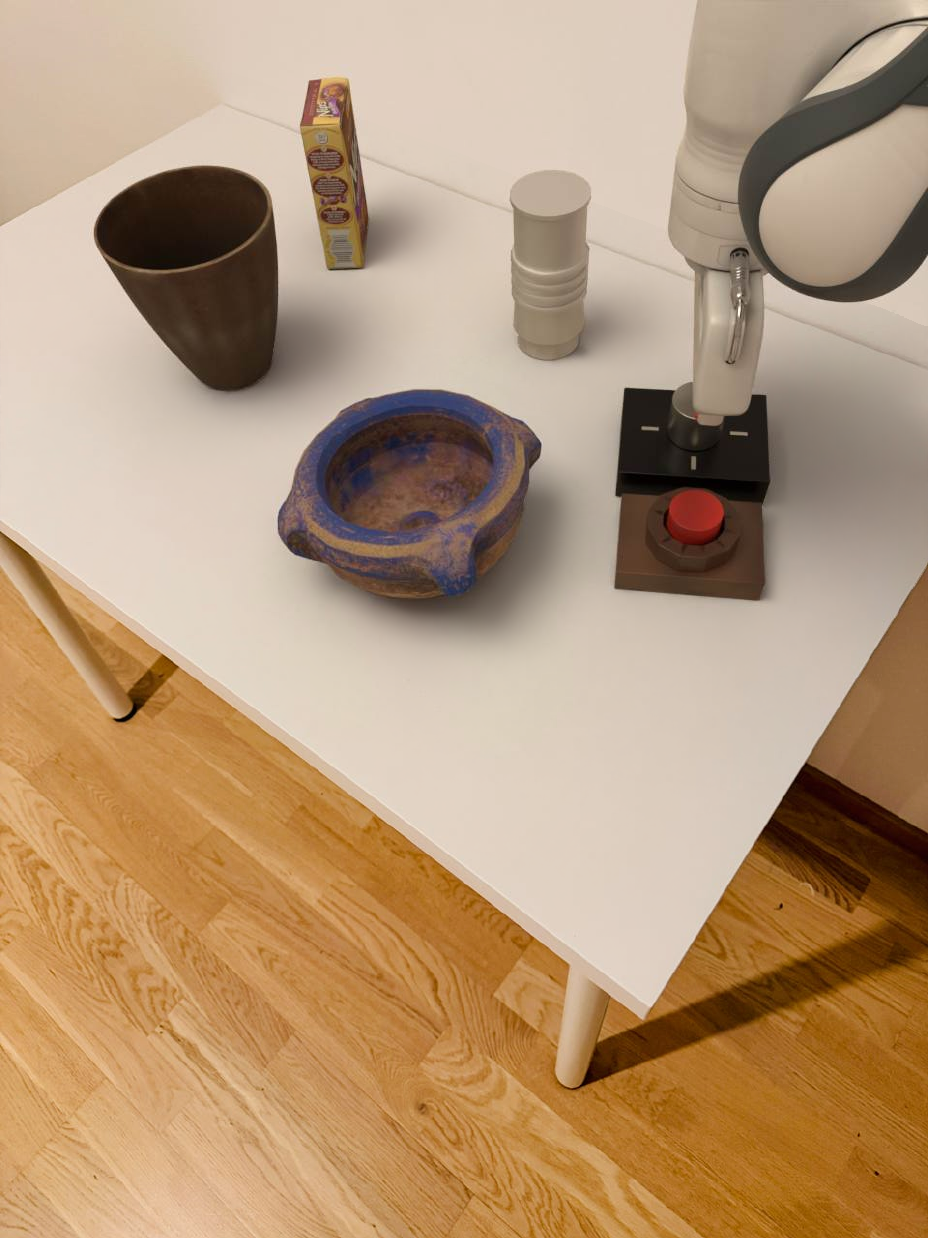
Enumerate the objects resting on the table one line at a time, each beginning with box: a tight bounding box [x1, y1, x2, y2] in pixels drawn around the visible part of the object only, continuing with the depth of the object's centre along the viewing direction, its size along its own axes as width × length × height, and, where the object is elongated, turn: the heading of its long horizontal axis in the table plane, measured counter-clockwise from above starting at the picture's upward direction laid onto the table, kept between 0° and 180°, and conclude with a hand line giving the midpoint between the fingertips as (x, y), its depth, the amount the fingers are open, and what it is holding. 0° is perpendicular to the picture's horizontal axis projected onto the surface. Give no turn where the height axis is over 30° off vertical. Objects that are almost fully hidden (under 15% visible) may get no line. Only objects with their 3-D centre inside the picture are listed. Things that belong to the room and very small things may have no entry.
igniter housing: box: [613, 487, 766, 601], centre depth 70 cm, size 11×8×4 cm
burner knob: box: [667, 381, 725, 451], centre depth 74 cm, size 4×4×4 cm
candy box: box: [299, 76, 370, 270], centre depth 92 cm, size 9×4×15 cm, turn 179°
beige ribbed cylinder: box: [509, 169, 592, 361], centre depth 81 cm, size 7×7×15 cm
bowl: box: [277, 388, 542, 599], centre depth 70 cm, size 18×18×10 cm
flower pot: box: [93, 164, 279, 392], centre depth 82 cm, size 15×15×16 cm
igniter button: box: [667, 490, 724, 545], centre depth 68 cm, size 4×4×2 cm
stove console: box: [614, 387, 771, 507], centre depth 76 cm, size 12×10×3 cm
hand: (709, 375), depth 70 cm, fingers open, 8 cm apart
